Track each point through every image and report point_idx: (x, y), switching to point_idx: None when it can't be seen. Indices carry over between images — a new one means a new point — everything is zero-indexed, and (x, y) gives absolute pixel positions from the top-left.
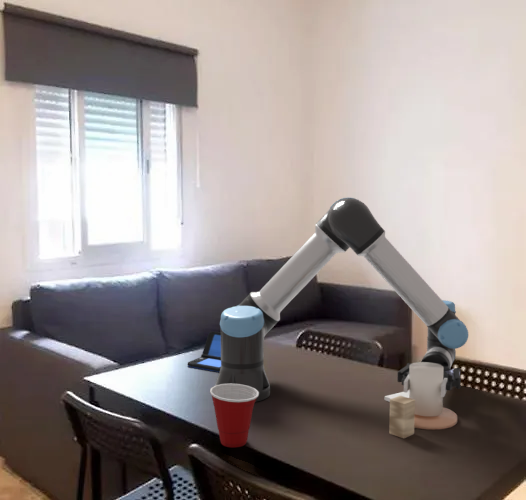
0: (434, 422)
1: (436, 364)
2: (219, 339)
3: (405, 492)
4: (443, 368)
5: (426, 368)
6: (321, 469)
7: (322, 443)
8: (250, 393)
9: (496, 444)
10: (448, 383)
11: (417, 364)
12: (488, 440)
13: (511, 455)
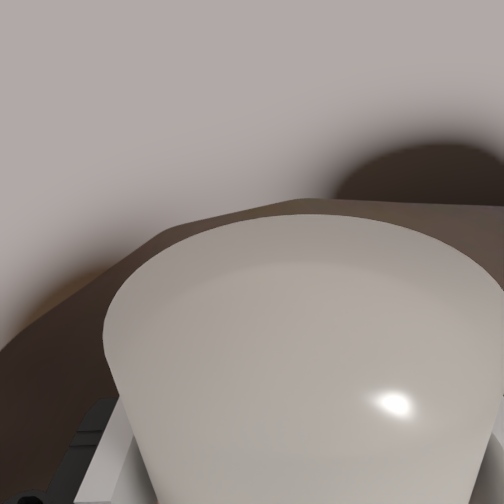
0: None
1: (175, 383)
2: None
3: (258, 210)
4: (112, 312)
5: (279, 249)
6: (391, 207)
7: (473, 248)
8: None
9: (39, 380)
10: (102, 430)
11: (420, 301)
12: (51, 399)
13: (35, 335)
